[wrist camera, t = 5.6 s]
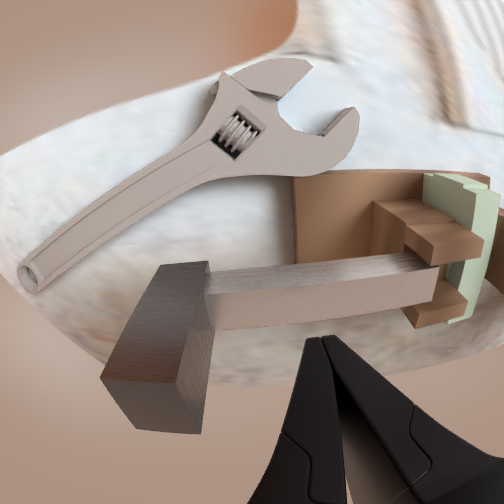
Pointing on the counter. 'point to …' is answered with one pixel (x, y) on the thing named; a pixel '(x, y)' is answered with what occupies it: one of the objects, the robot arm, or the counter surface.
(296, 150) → the adjustable wrench
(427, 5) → the counter surface
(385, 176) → the stand
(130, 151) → the counter surface
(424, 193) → the spacer
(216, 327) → the shaft
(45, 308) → the counter surface
